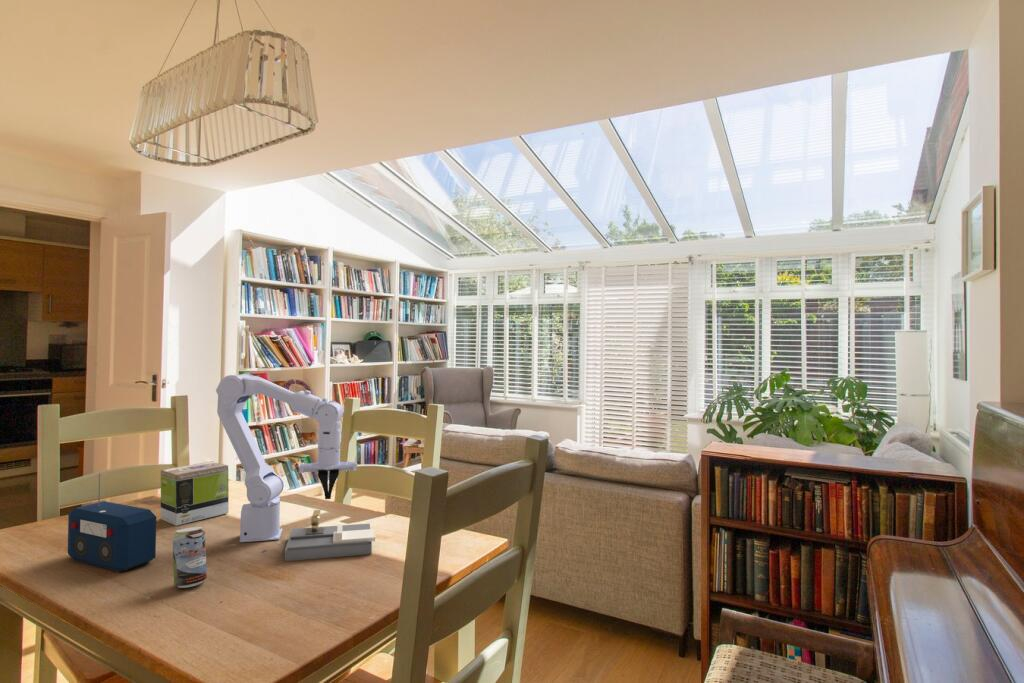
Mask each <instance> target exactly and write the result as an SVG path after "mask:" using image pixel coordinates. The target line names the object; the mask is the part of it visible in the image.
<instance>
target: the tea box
mask: <svg viewBox="0 0 1024 683" xmlns="http://www.w3.org/2000/svg"><path fill="white" fill-rule="evenodd" d="M229 490H230V489H229V465H227V464H224V463H219V462H215V461H213V460H212V461H207V462H206V461H205V462H200V463H195V464H188V465H182V466H177V467H171V468H165V469H161V470H160V519H161V520H162V521H164V522H166V523H168V524H170V525H173V526H176V527H178V526H181V525H185V524H189V523H193V522H197V521H200V520H205V519H209V518H213V517H217V516H222V515H225V514H229V511H230V510H229V506H230V505H229V501H230V500H229Z"/></svg>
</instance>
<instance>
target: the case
mask: <svg viewBox="0 0 1024 683" xmlns="http://www.w3.org/2000/svg"><path fill="white" fill-rule="evenodd" d="M370 524H371V523H359V524H343V527H342V531H353V530H367V529H371V525H370ZM337 527H338V525H330V526H329V525H328V526H318V531H312V526H311V527H300V528H291V531H290V533H289V537H288V540H287V542H286V546H285V549H284V562H290V561H291V562H292V561H302V560H303V561H305V560H315V559H316V560H318V559H326V558H327V559H328V558H339V557H351V556H365V555H372V554H373V553H372V551H373V550H372V549H373V548H372V547H373V546H372V544H373V543H372V542H370V541H363V542H350V543H337V544H333V535H334V532H337Z"/></svg>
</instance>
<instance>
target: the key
mask: <svg viewBox="0 0 1024 683" xmlns="http://www.w3.org/2000/svg"><path fill="white" fill-rule="evenodd" d="M320 519H321V509H314V510H313V513H312V515H311V517H310V521H311V522H310V524H311V527H312V531H318V527H319V525H320Z"/></svg>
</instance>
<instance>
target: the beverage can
mask: <svg viewBox="0 0 1024 683" xmlns="http://www.w3.org/2000/svg"><path fill="white" fill-rule="evenodd" d="M206 545H207V544H206V532H205V531H204V529H203V526H200V525H199V526H190V527H185V528H181V529H177V530H175V534H174V535H173V536H172V560H173V562H172V563H173V568H172V569H173V585H174V586H176V587H177V588H180V589H187V588H191V587H196V586H198V585H201V584H202V583H203V582H204V581H205V580H206V579H207V576H208V575H207V573H208V572H207V551H206V550H207V547H206Z"/></svg>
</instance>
